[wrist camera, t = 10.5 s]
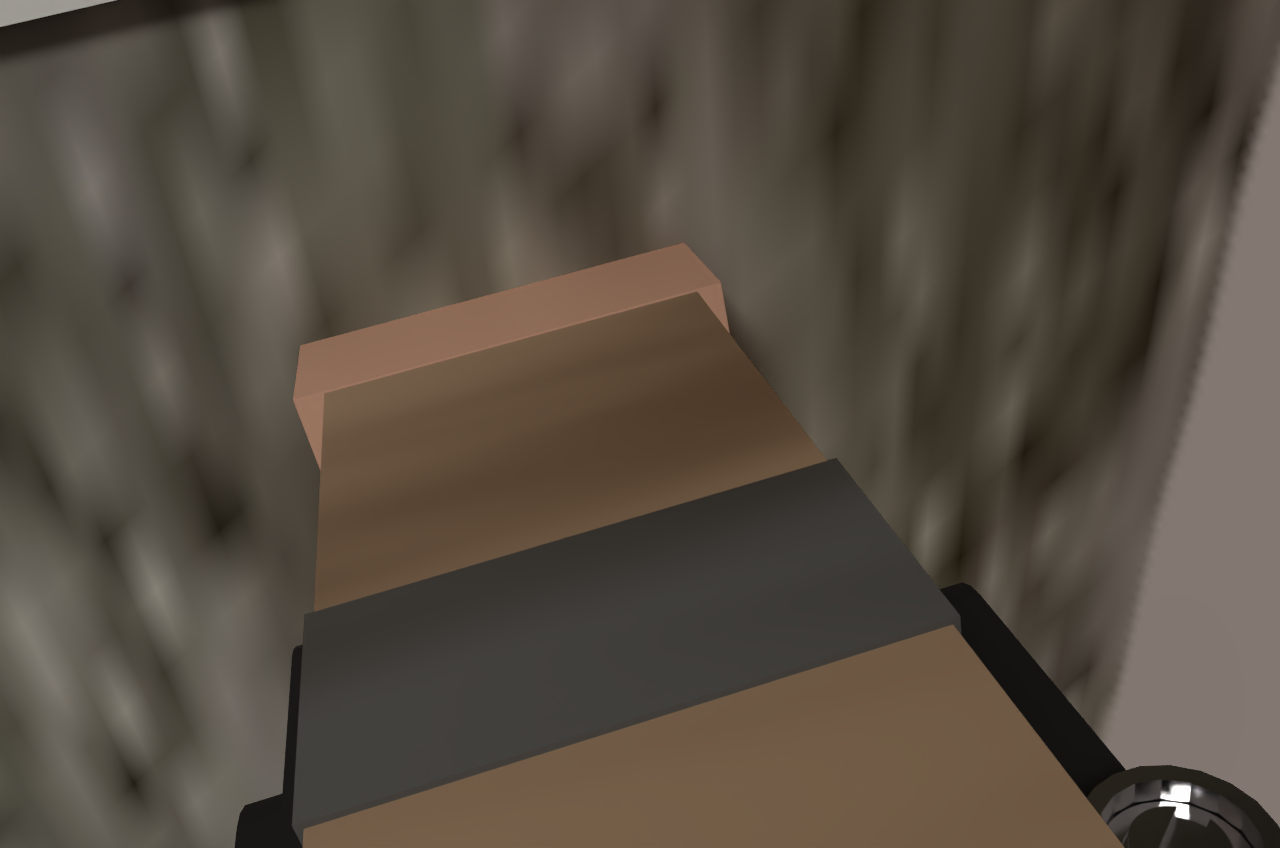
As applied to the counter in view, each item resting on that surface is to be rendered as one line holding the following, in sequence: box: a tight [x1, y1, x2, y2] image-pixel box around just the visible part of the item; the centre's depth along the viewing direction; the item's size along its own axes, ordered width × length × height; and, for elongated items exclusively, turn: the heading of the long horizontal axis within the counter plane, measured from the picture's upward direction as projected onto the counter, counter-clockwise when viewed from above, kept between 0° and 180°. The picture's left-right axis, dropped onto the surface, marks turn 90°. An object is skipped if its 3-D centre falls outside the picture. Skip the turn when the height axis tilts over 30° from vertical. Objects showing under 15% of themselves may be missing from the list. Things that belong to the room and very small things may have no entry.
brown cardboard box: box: [292, 292, 1124, 848], centre depth 10 cm, size 6×4×8 cm
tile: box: [293, 243, 730, 470], centre depth 21 cm, size 3×7×8 cm
